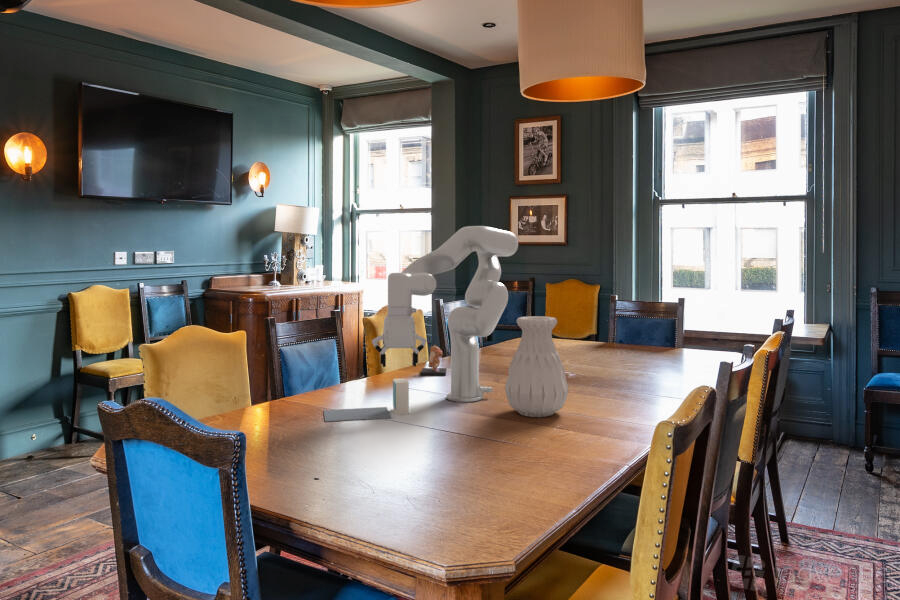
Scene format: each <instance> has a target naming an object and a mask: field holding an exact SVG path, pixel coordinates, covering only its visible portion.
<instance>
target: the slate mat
mask: <svg viewBox="0 0 900 600" xmlns="http://www.w3.org/2000/svg"><path fill="white" fill-rule="evenodd" d="M323 415H324V422H325V423H330V422H331V423H332V422H351V421H365V420H366V421H369V420H387V419H389V420H390V419H392V416H391V414H390V412H389V410H388V407H387V406H381V407H380V406H379V407H378V406H377V407H360V408H342V409H341V408H339V409H324V410H323Z"/></svg>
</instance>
